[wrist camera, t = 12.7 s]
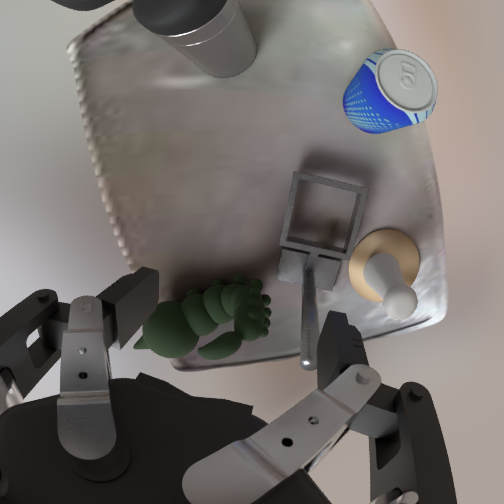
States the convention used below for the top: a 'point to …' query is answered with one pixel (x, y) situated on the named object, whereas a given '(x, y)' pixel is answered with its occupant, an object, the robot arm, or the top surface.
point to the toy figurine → (208, 320)
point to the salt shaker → (390, 285)
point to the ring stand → (315, 263)
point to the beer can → (390, 92)
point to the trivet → (386, 243)
